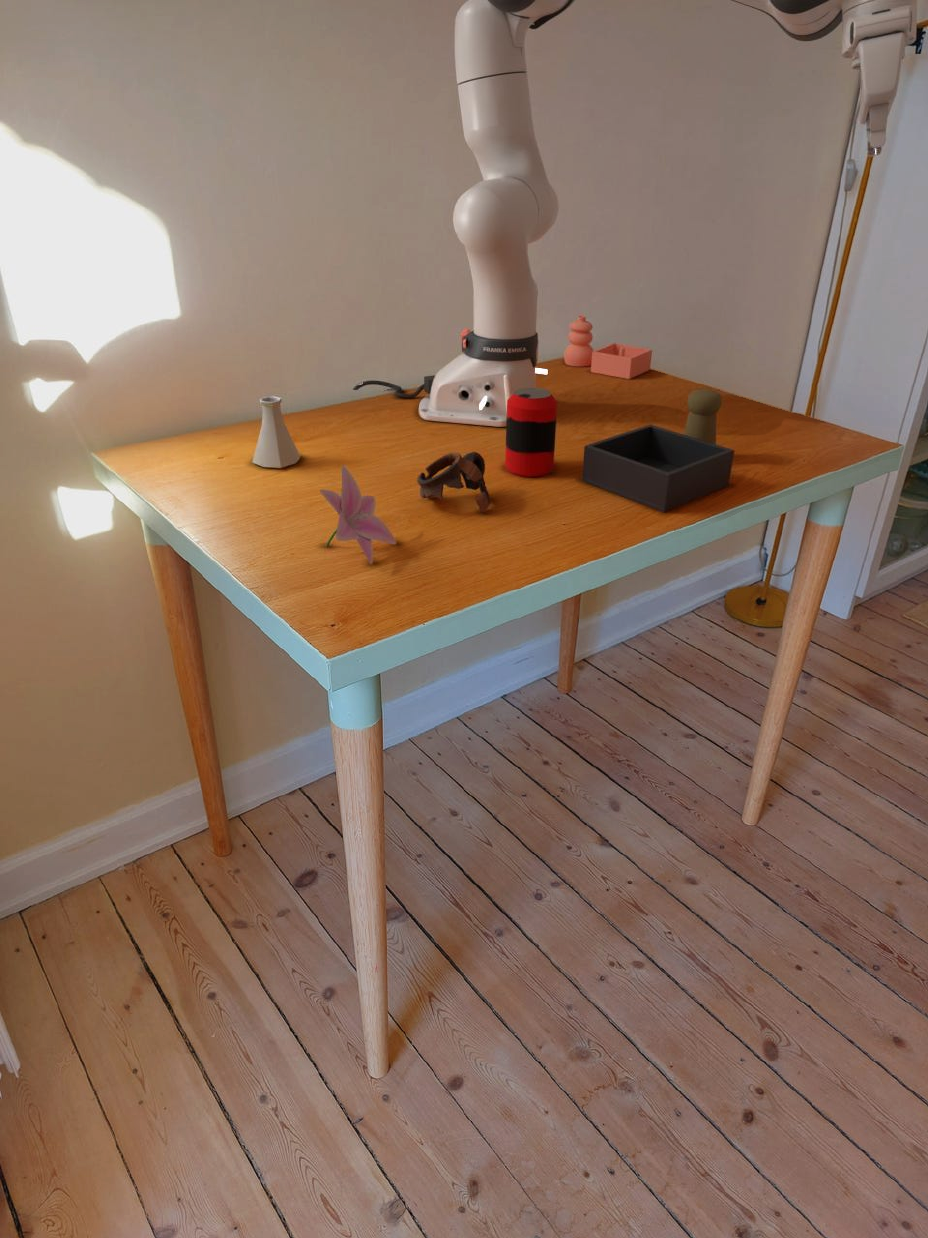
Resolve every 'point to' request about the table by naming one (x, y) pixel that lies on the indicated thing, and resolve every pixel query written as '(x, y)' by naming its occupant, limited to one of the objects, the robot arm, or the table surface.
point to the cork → (703, 414)
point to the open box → (657, 467)
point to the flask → (274, 437)
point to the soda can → (530, 432)
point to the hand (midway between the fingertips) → (875, 151)
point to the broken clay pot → (456, 476)
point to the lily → (357, 516)
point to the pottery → (604, 354)
